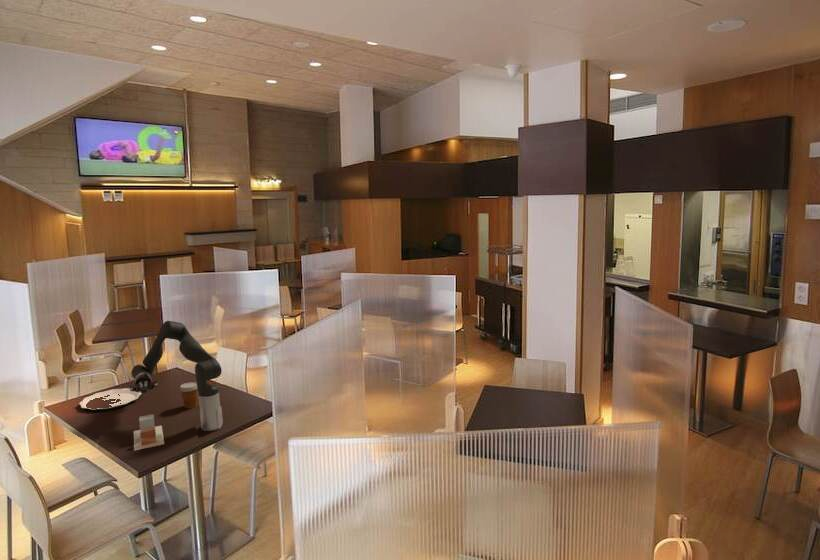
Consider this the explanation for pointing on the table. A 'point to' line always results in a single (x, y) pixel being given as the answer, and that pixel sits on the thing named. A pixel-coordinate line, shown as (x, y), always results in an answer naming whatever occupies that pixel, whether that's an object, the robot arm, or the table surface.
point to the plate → (125, 397)
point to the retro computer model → (146, 422)
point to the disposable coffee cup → (189, 394)
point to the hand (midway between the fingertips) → (144, 391)
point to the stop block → (148, 436)
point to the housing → (158, 442)
